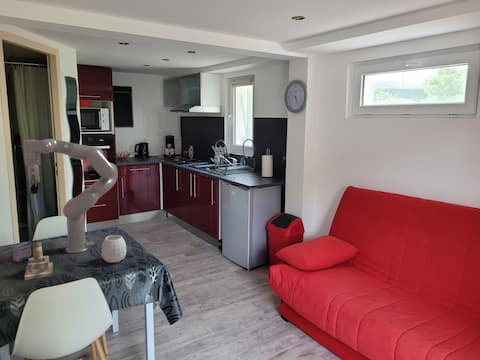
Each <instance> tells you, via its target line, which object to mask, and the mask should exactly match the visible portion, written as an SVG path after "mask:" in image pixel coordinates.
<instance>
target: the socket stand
mask: <svg viewBox="0 0 480 360" xmlns="http://www.w3.org/2000/svg"><path fill="white" fill-rule="evenodd" d="M42 256H43V255H42ZM53 264H54V263H53V262H52V261H51V262H50V257H49V255H44V256H43V262H38V263H34V257H30V258H28V260H27V265H26V269H25V273H24V280H25V281H28V280H35V279H42V278H46V277H52V276H53V268H54V267H53V266H54V265H53Z"/></svg>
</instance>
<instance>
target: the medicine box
mask: <svg viewBox="0 0 480 360" xmlns="http://www.w3.org/2000/svg"><path fill="white" fill-rule="evenodd" d="M11 248H12V249H11V250H12V256H13V257H12V258H13V261H14V262H18V263H20V262H22V261H25V260H27V259H28V260H29V258H33V257H32V255H33V253H32V245H31V242H29V241H23V242H21V243H18V244H15V245H12V246H11Z"/></svg>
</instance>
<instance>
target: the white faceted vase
mask: <svg viewBox="0 0 480 360" xmlns="http://www.w3.org/2000/svg"><path fill="white" fill-rule="evenodd" d="M126 255H127V244H126V241H125V239H124V238H123V236H122V235H119V234H112V235H108V236H106V237H105V238H104V240H103V243H102V245H101V257H102V259H103V260H104V262H106V263H109V264H112V263H114V264H115V263H120V262H121V260H122V261H123V260H124V259H125V258H126Z"/></svg>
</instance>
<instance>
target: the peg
mask: <svg viewBox="0 0 480 360" xmlns="http://www.w3.org/2000/svg"><path fill="white" fill-rule="evenodd" d="M42 245H43V244H42V242H40V241H39V242H38V241H36V242H33V243H32V245H31V246H32V255H33V257H32V258H34V263H38V262H43V249H42V248H43V246H42Z"/></svg>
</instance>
